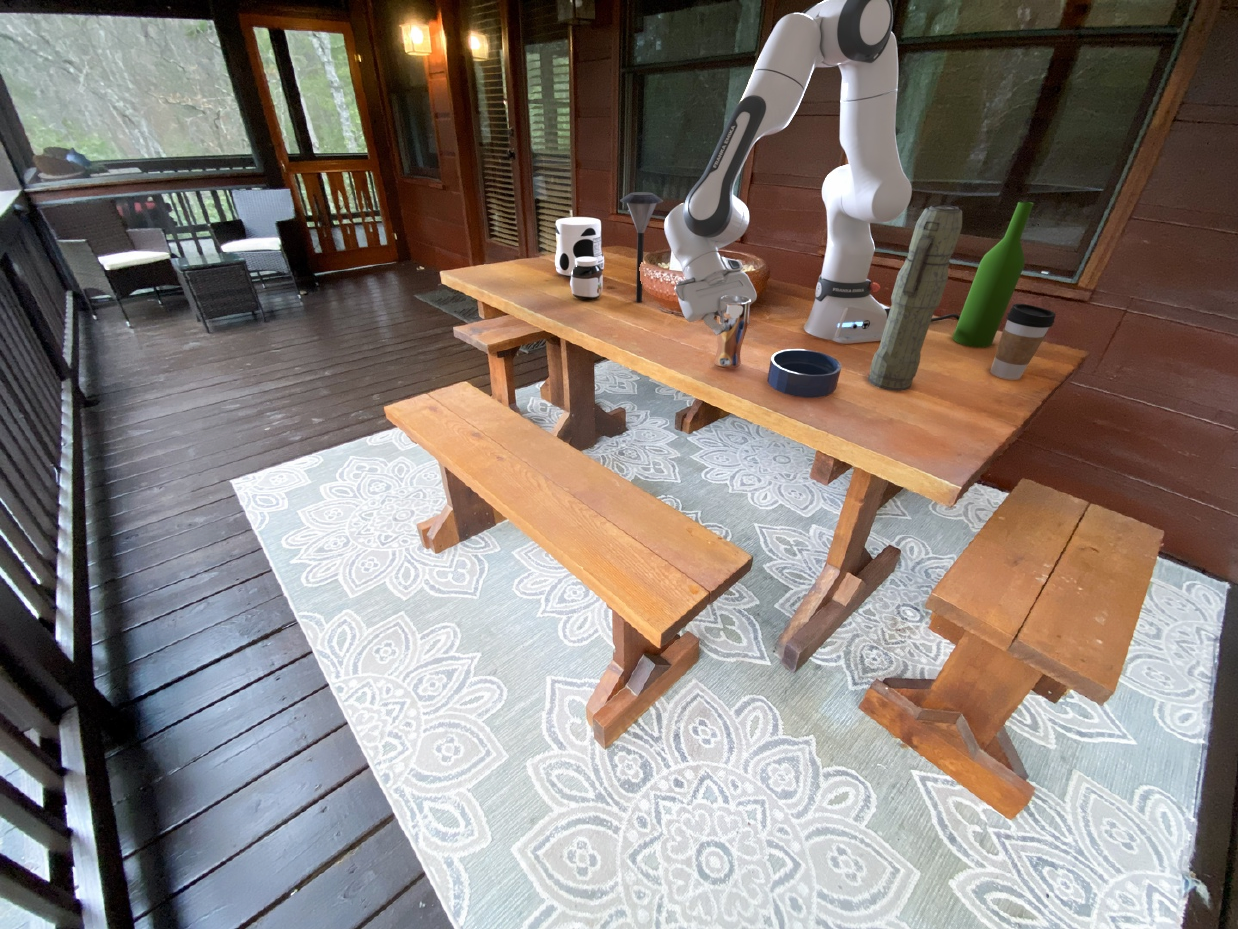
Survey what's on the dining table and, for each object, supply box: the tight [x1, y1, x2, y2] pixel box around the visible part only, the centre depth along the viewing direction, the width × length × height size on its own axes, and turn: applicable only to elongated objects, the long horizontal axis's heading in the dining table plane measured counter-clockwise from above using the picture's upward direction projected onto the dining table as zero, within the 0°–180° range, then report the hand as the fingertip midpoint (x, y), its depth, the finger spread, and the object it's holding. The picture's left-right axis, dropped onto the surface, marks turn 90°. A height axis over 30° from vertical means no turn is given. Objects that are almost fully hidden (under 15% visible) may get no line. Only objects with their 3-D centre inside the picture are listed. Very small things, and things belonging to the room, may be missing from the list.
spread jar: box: [569, 257, 604, 302], centre depth 166 cm, size 12×11×12 cm
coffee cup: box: [989, 303, 1056, 381], centre depth 116 cm, size 8×8×15 cm
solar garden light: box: [619, 191, 664, 303], centre depth 156 cm, size 12×12×30 cm
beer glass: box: [713, 295, 751, 370], centre depth 119 cm, size 7×7×15 cm
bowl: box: [766, 348, 842, 399], centre depth 113 cm, size 14×14×6 cm
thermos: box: [867, 204, 963, 392], centre depth 107 cm, size 9×12×35 cm
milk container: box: [554, 216, 605, 279], centre depth 184 cm, size 17×17×18 cm
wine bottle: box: [952, 201, 1035, 348], centre depth 128 cm, size 9×9×32 cm
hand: (733, 329), depth 118 cm, fingers closed on beer glass, 7 cm apart
